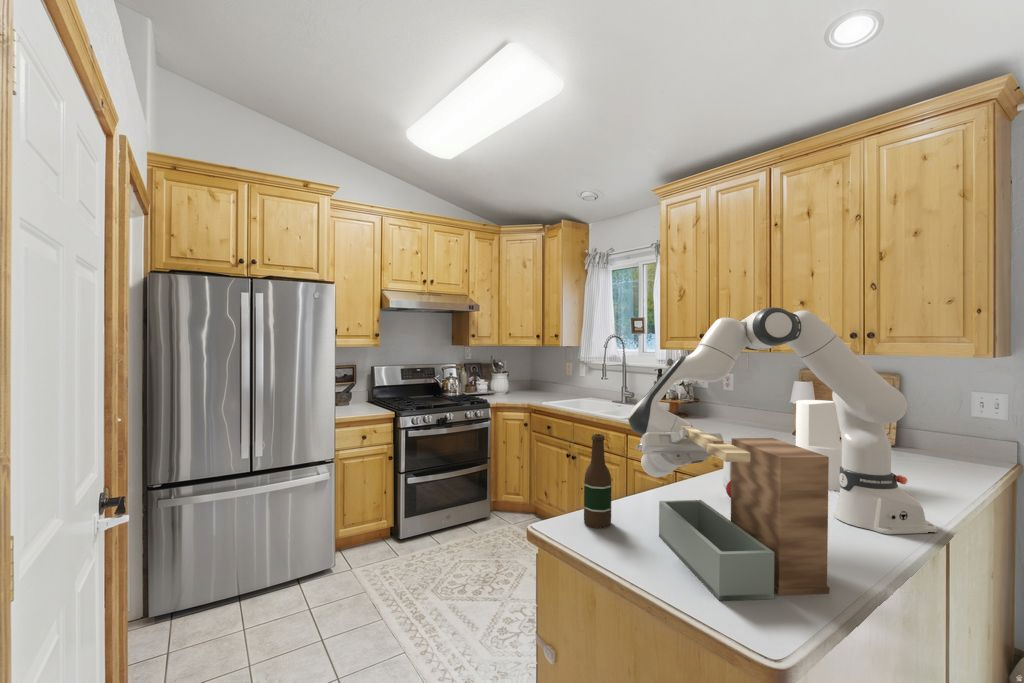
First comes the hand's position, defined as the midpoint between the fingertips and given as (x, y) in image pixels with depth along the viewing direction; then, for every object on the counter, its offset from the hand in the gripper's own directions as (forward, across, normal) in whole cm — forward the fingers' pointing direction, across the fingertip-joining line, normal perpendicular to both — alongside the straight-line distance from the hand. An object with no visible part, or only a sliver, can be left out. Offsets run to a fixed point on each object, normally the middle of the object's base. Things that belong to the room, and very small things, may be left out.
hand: (693, 433), depth 115 cm
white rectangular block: (-55, +70, 0) cm, 89 cm away
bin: (-7, +1, +28) cm, 29 cm away
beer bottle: (-28, -18, +16) cm, 37 cm away
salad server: (+6, 0, +5) cm, 8 cm away
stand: (-3, +13, +30) cm, 33 cm away
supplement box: (-51, +36, +3) cm, 62 cm away
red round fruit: (-40, +29, +9) cm, 50 cm away
